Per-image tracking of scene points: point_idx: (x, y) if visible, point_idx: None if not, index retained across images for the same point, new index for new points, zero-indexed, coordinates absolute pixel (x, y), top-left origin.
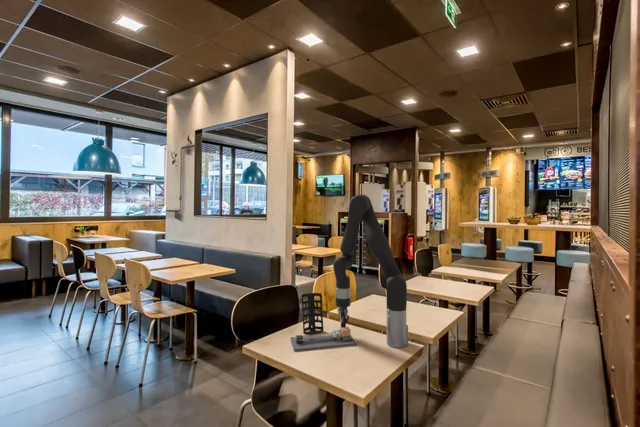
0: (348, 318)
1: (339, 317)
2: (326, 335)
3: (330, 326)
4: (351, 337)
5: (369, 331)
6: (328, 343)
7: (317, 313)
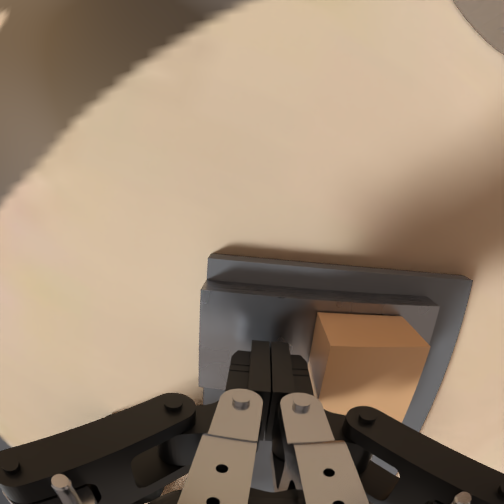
0: (484, 466)
1: (167, 471)
2: None
3: (31, 331)
4: (430, 315)
5: (218, 23)
6: (373, 460)
7: None
